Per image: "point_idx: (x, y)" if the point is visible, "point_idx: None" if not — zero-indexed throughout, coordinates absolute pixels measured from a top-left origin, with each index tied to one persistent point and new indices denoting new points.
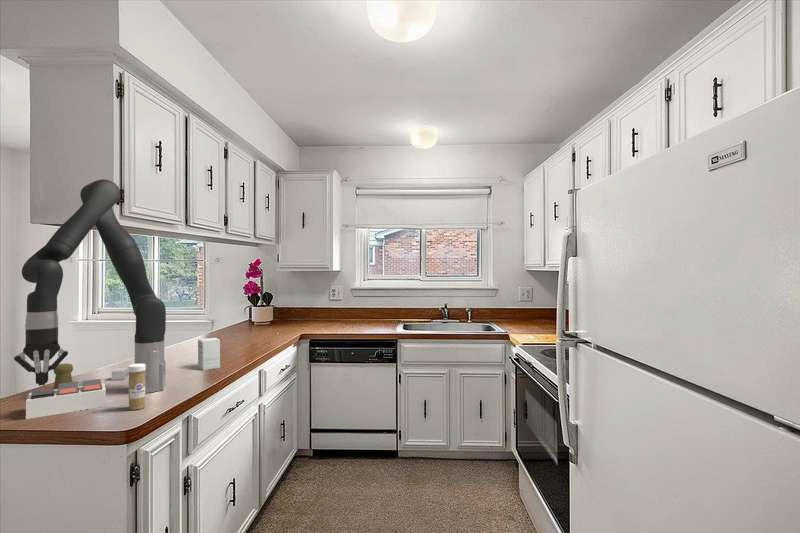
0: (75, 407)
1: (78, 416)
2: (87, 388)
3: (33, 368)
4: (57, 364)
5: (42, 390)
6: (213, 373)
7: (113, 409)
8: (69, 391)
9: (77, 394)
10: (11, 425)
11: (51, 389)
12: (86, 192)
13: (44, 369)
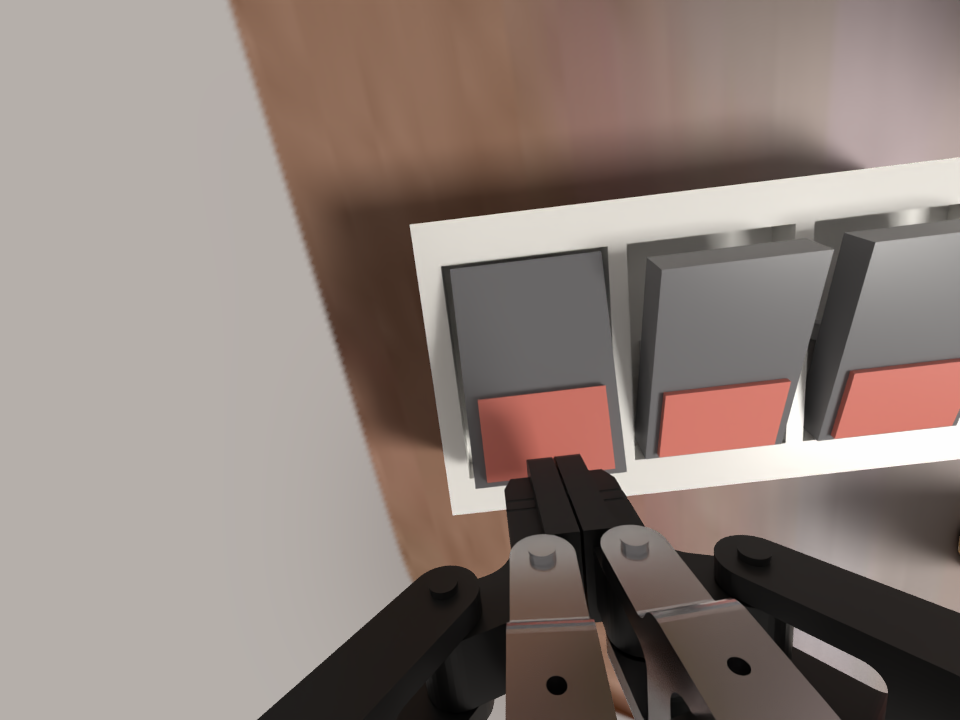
0: None
1: (711, 536)
2: (865, 420)
3: (499, 685)
4: (840, 709)
5: None
6: None
7: (885, 492)
8: (730, 439)
9: (772, 476)
10: (414, 533)
11: (617, 471)
12: None
13: (634, 664)
